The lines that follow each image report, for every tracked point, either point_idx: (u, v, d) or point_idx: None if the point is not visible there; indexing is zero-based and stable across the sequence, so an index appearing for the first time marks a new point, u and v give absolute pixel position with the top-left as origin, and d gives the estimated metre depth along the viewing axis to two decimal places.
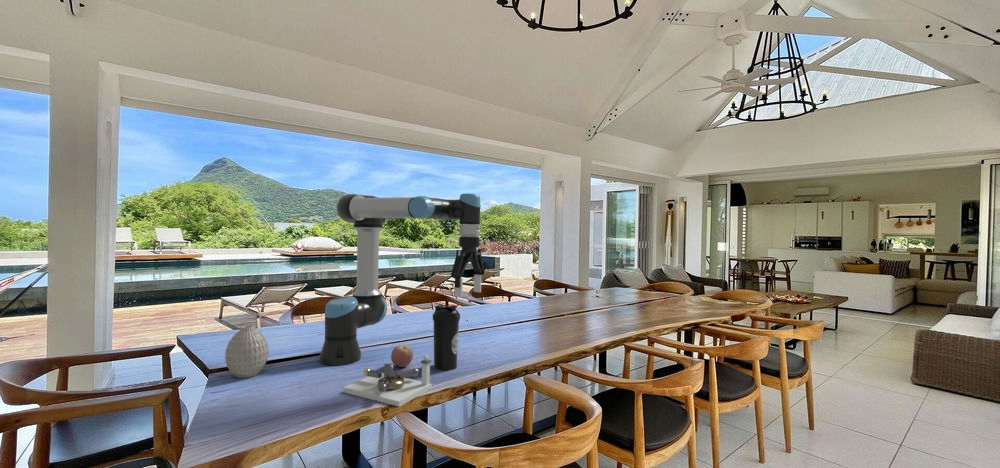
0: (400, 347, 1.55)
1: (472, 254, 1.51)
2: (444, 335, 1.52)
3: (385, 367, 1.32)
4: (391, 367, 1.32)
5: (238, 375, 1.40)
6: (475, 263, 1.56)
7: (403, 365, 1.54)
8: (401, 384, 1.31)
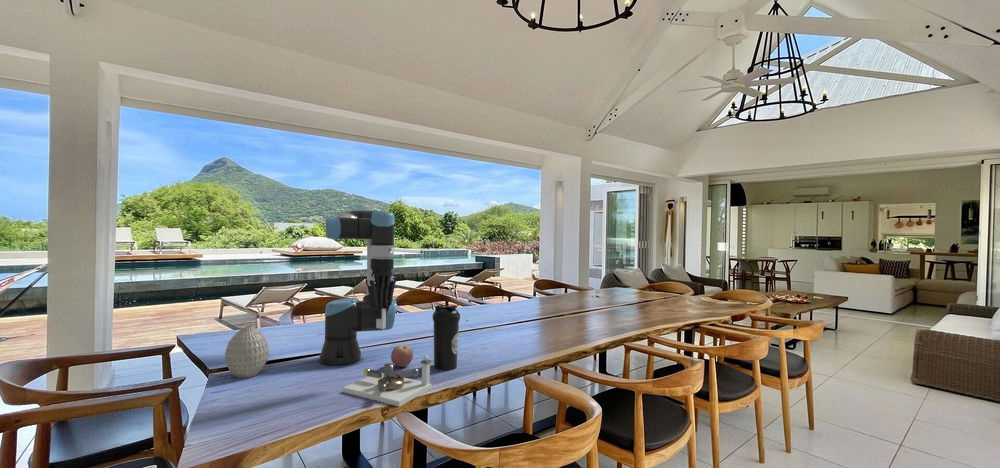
0: (400, 347, 1.55)
1: (384, 277, 1.39)
2: (444, 335, 1.52)
3: (385, 367, 1.32)
4: (391, 367, 1.32)
5: (238, 375, 1.40)
6: (384, 290, 1.41)
7: (403, 365, 1.54)
8: (401, 384, 1.31)
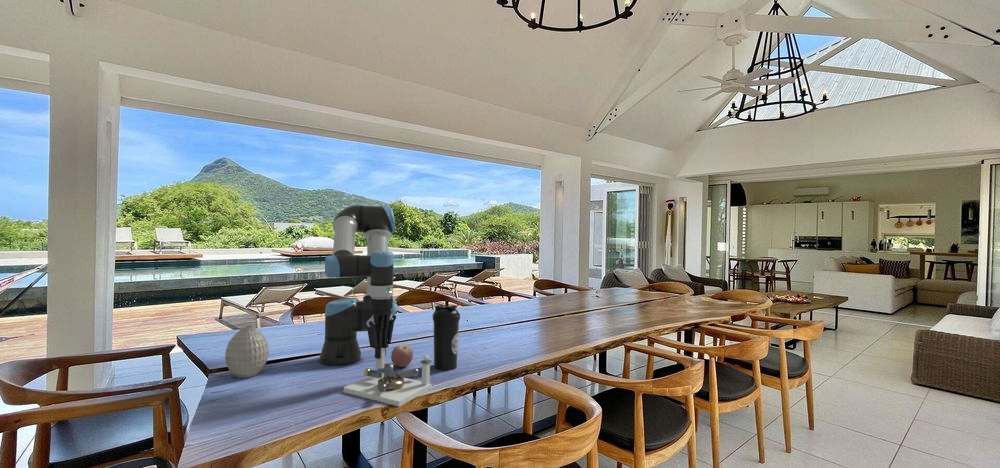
0: (400, 347, 1.55)
1: (383, 317, 1.39)
2: (444, 335, 1.52)
3: (385, 367, 1.32)
4: (391, 367, 1.32)
5: (238, 375, 1.40)
6: (383, 329, 1.41)
7: (403, 365, 1.54)
8: (401, 384, 1.31)
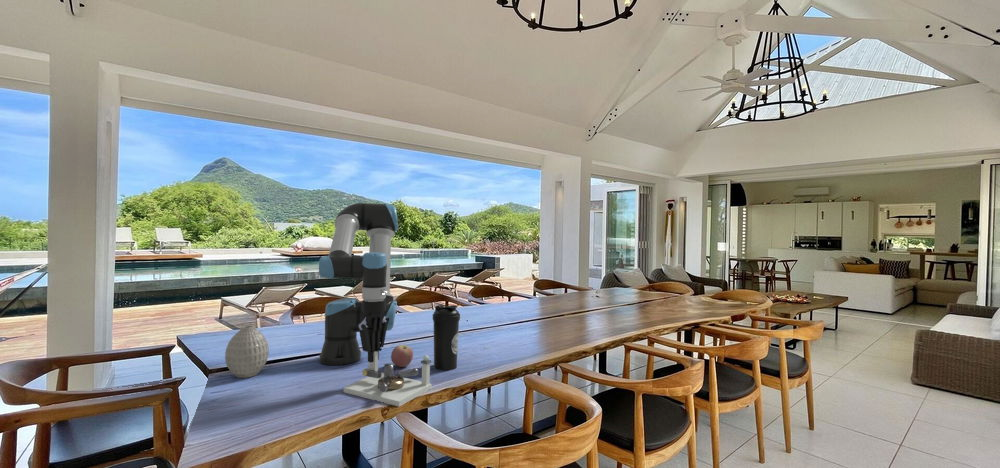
0: (400, 347, 1.55)
1: (376, 319, 1.36)
2: (444, 335, 1.52)
3: (385, 367, 1.32)
4: (391, 367, 1.32)
5: (238, 375, 1.40)
6: (376, 332, 1.38)
7: (403, 365, 1.54)
8: (401, 384, 1.32)
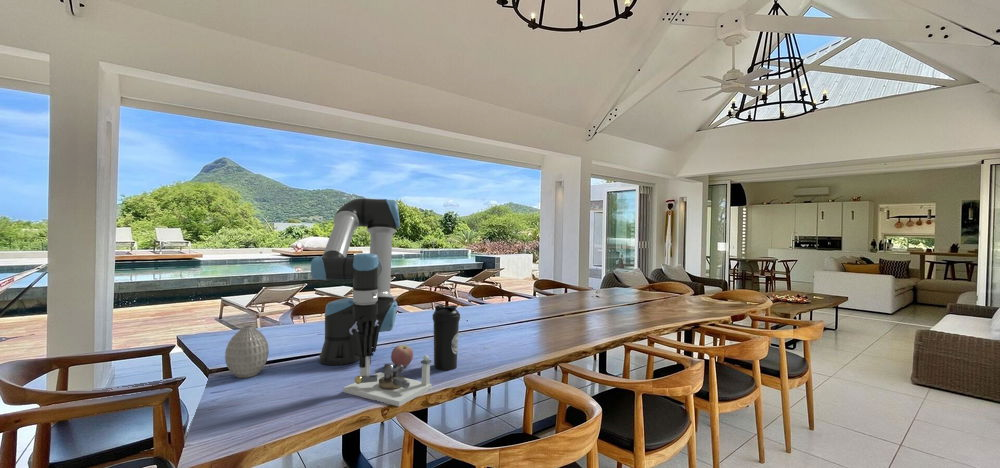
0: (400, 347, 1.55)
1: (367, 323, 1.31)
2: (444, 335, 1.52)
3: (388, 367, 1.32)
4: None
5: (238, 375, 1.40)
6: (368, 336, 1.33)
7: (403, 365, 1.54)
8: None
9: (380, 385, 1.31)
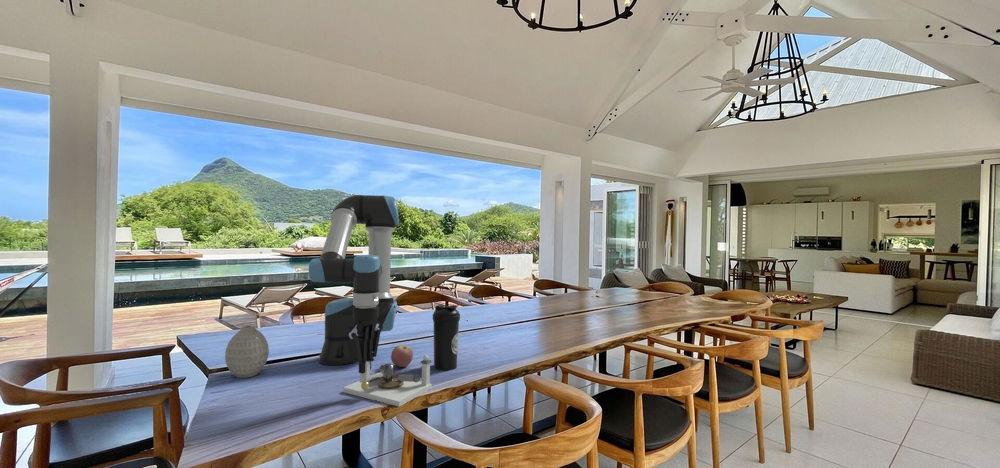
0: (400, 347, 1.55)
1: (368, 327, 1.26)
2: (444, 335, 1.52)
3: (391, 367, 1.32)
4: None
5: (238, 375, 1.40)
6: (368, 340, 1.28)
7: (403, 365, 1.54)
8: None
9: (385, 386, 1.30)
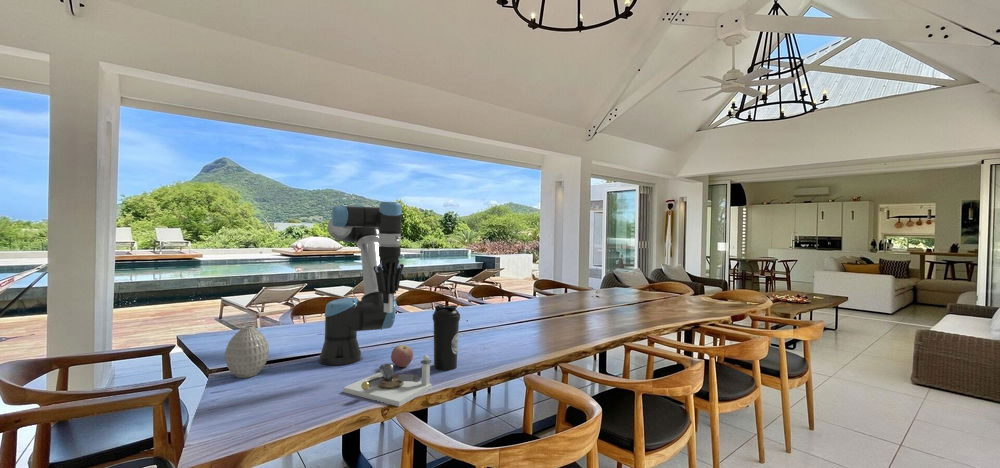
0: (400, 347, 1.55)
1: (391, 264, 1.46)
2: (444, 335, 1.52)
3: (391, 367, 1.32)
4: None
5: (238, 375, 1.40)
6: (391, 276, 1.48)
7: (403, 365, 1.54)
8: None
9: (386, 386, 1.30)
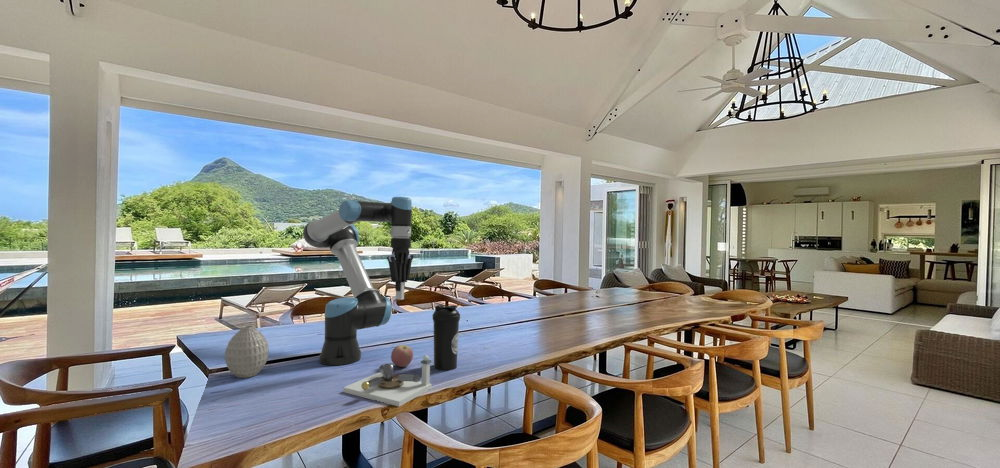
0: (400, 347, 1.55)
1: (403, 254, 1.58)
2: (444, 335, 1.52)
3: (391, 367, 1.32)
4: None
5: (238, 375, 1.40)
6: (403, 265, 1.60)
7: (403, 365, 1.54)
8: None
9: (386, 386, 1.30)
